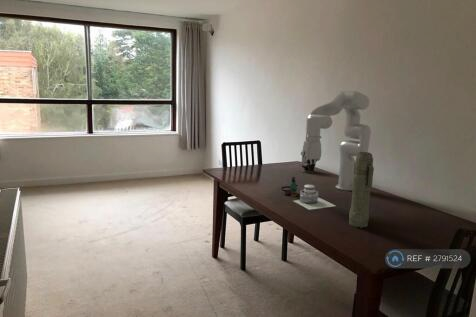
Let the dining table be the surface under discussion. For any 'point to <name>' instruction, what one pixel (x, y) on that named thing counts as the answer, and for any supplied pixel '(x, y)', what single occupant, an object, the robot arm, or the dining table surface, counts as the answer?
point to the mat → (319, 204)
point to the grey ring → (308, 197)
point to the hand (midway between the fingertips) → (311, 170)
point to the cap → (309, 189)
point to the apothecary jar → (305, 166)
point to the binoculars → (293, 188)
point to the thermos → (361, 190)
